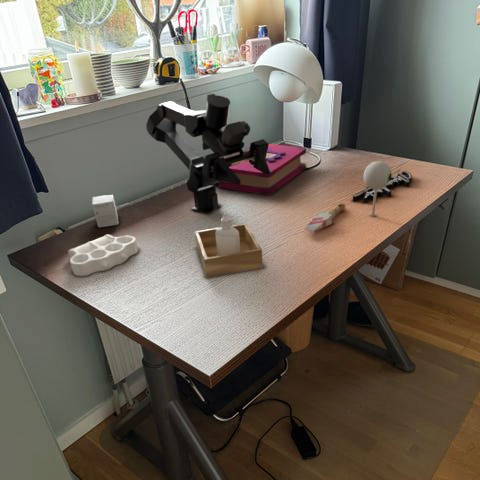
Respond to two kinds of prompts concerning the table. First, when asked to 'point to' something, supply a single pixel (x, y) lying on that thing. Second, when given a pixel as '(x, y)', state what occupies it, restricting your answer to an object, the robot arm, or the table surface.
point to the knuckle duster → (101, 254)
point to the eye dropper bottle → (227, 237)
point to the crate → (228, 262)
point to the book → (280, 165)
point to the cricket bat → (323, 218)
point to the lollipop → (377, 178)
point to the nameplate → (394, 182)
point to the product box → (105, 210)
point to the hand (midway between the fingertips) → (254, 178)
